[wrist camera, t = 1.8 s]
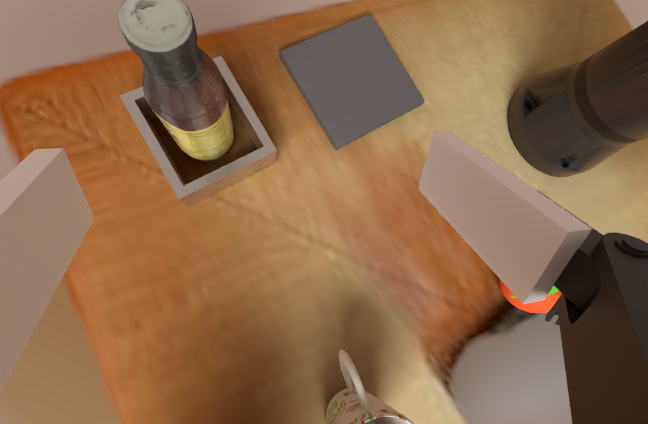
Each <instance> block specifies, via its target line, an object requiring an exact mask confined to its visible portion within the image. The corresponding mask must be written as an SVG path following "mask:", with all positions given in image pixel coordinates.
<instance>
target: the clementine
mask: <svg viewBox="0 0 648 424" xmlns="http://www.w3.org/2000/svg"><path fill="white" fill-rule="evenodd" d="M500 287H501V290H502V292H503V294H504V296H505V298H506V299H507V300H508V301H509V302H510V303H511V304H513V305H514V306H515V307H517V308H518V309H521V310H524V311H527V312H530V313H545V312H548V311H550V309H551V308H552V307H553V305H554V304H555V302H556V301H557V300H558V298H559V297H560V295H561V294H562V293H561V292H560V291H559V290H558V289H557V288H556V287H555V286H553V288H552V289H551V291H550V292H549V294H548V295H547V297H546V298H545V299H544V300H543V301H538V302H532V303H527V304H522V303H521V302H520V300H519V299H518V298H517V297H516V296H515V295H514V294H513V293H512V292H511V291H510V289H509V288H508V287H507V286H506V285H505V284H504V283H503V282H502V281H501V280H500Z"/></svg>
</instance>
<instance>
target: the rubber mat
mask: <svg viewBox="0 0 648 424" xmlns="http://www.w3.org/2000/svg"><path fill="white" fill-rule="evenodd" d="M279 56H280V58H281V60H282V61H283V63H284V65H285V66H286V68H287V70H288V71H289V73H290V75H291V77H292V78H293V80H294V82H295V83H296V85H297V87H298V88H299V90H300V92H301V93H302V95H303V97H304V98H305V100H306V102H307V103H308V105H309V107H310V108H311V110H312V112H313V113H314V115H315V117H316V118H317V120H318V122H319V123H320V125H321V127H322V128H323V130H324V132H325V133H326V135H327V137H328V138H329V140H330V142H331V143H332V145H333V147H334V148H335V150H337V149H339V148H341V147H343V146H344V145H346V144H348V143H350V142H352V141H354V140H356V139H358V138H360V137H361V136H363V135H365V134H367V133H369V132H371V131H373V130H375V129H377V128H379V127H380V126H382V125H384V124H386V123H388V122H390V121H392V120H394V119H396V118H398V117H399V116H401V115H403V114H405V113H407V112H409V111H411V110H413V109H415V108H417V107H418V106H420V105H422V104H423V103H424V102H425V101H424V99H423V98H422V96H421V95H420V93H419V91H418V90H417V88H416V86H415V85H414V83H413V82H412V80H411V78H410V77H409V75H408V73H407V72H406V70H405V69H404V67H403V65H402V64H401V62H400V61H399V59H398V57H397V56H396V54H395V52H394V51H393V49H392V48H391V46H390V44H389V43H388V41H387V39H386V38H385V36H384V35H383V33H382V31H381V30H380V28H379V26H378V25H377V23H376V22H375V20H374V18H373V17H372V15H371V14H368V15H366V16H363V17H361V18H359V19H356V20H354V21H351V22H349V23H347V24H344V25H342V26H339V27H337V28H334V29H332V30H330V31H327V32H325V33H322V34H320V35H318V36H315V37H313V38H310V39H308V40H305V41H303V42H301V43H298V44H296V45H293V46H291V47H289V48H286V49H284V50H281V51H280V54H279Z"/></svg>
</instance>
